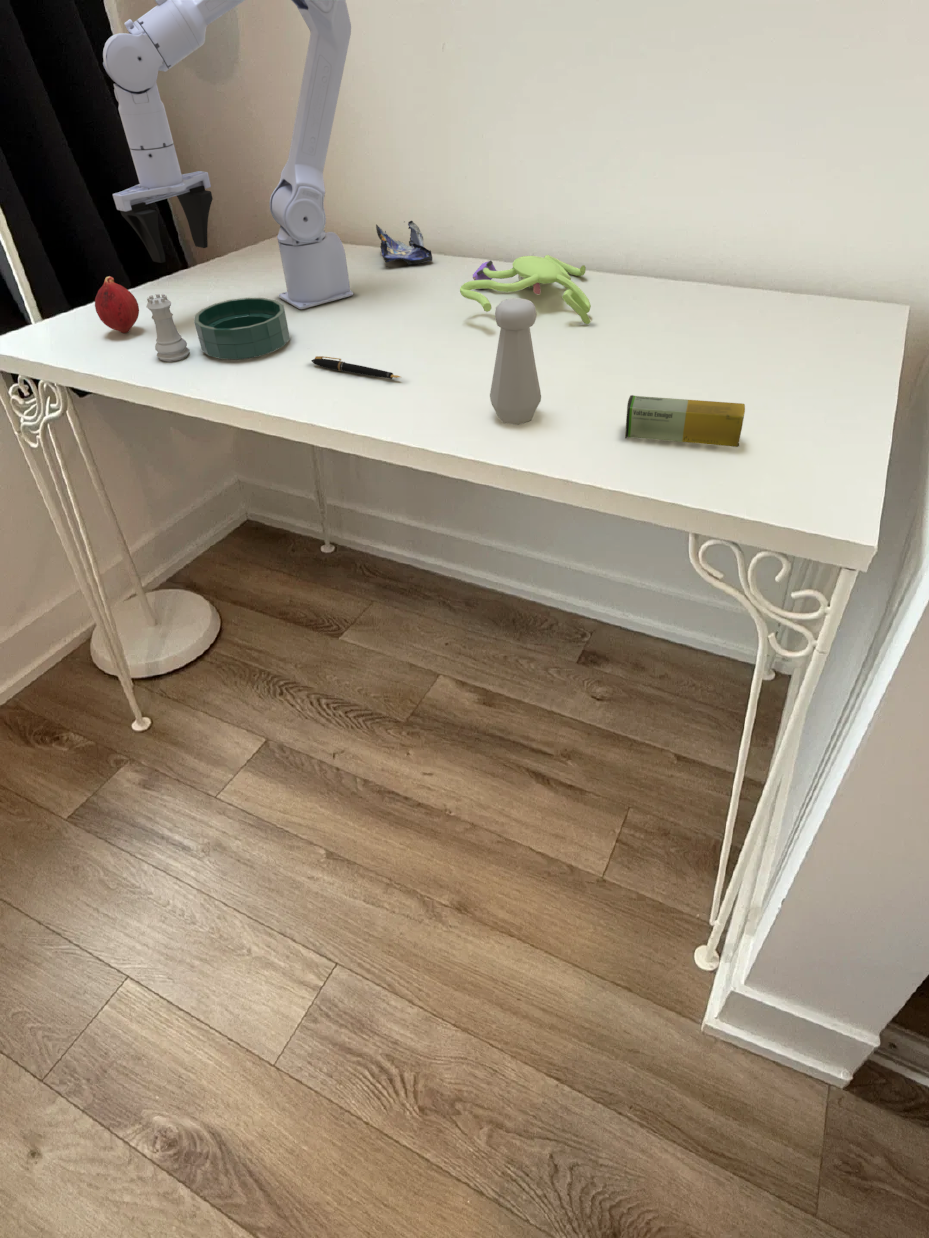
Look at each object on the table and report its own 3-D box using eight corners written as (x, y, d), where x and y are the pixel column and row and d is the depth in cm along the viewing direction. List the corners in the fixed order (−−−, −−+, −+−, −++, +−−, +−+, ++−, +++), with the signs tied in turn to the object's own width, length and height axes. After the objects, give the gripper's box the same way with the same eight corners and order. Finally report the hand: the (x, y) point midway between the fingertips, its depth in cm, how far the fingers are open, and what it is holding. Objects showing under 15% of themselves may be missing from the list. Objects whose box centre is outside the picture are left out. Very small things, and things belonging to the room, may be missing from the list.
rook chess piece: (196, 354, 109) (180, 296, 103) (168, 365, 106) (150, 305, 101) (179, 347, 111) (162, 289, 106) (151, 357, 109) (132, 298, 103)
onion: (132, 341, 114) (114, 284, 108) (97, 340, 115) (77, 283, 109) (152, 326, 118) (135, 271, 113) (118, 325, 119) (99, 270, 114)
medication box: (623, 439, 85) (625, 407, 82) (627, 426, 87) (629, 393, 84) (738, 448, 82) (745, 415, 79) (740, 434, 84) (746, 401, 81)
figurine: (458, 335, 110) (456, 294, 106) (472, 273, 130) (471, 237, 126) (591, 333, 108) (593, 292, 104) (584, 271, 128) (586, 234, 124)
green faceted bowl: (268, 322, 117) (261, 291, 114) (305, 346, 109) (299, 313, 106) (190, 344, 112) (181, 312, 109) (223, 370, 104) (214, 337, 101)
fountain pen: (405, 381, 99) (404, 369, 98) (401, 384, 98) (399, 373, 97) (314, 363, 105) (312, 352, 104) (309, 367, 104) (307, 356, 103)
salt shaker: (488, 407, 92) (485, 294, 84) (536, 403, 93) (538, 290, 84) (493, 430, 88) (491, 313, 80) (544, 426, 88) (547, 309, 80)
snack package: (446, 249, 141) (385, 245, 144) (443, 212, 136) (379, 209, 139) (427, 282, 134) (363, 278, 136) (423, 245, 129) (357, 241, 131)
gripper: (123, 159, 98) (156, 272, 107) (213, 137, 107) (237, 244, 115) (90, 155, 101) (125, 265, 110) (181, 134, 110) (206, 238, 119)
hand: (180, 254), depth 113 cm, fingers open, 7 cm apart
